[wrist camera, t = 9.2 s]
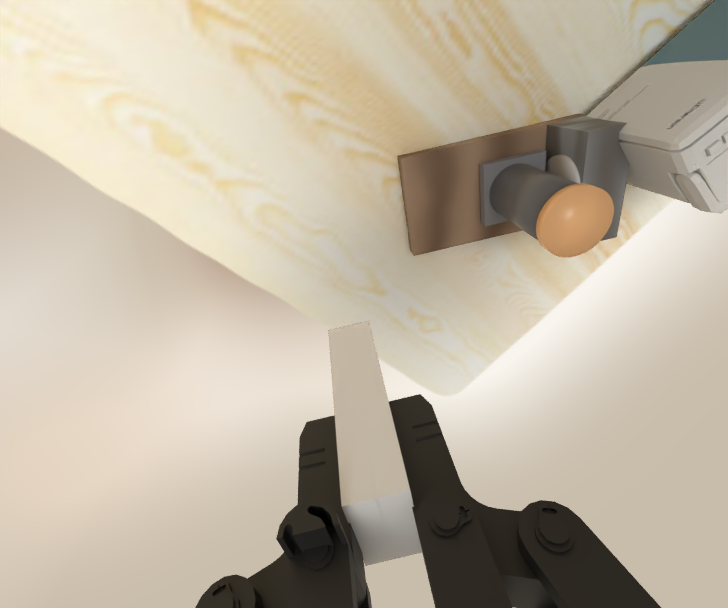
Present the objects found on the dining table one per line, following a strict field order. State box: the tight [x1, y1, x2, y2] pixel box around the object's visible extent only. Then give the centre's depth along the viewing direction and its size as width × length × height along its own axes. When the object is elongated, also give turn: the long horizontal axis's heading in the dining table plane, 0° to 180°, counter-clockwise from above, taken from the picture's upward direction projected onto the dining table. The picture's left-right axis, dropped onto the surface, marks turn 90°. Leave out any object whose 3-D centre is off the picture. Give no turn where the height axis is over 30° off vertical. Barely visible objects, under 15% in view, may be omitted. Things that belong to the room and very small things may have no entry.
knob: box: [480, 149, 614, 257], centre depth 32 cm, size 6×6×11 cm
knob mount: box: [398, 114, 630, 256], centre depth 35 cm, size 18×10×8 cm, turn 101°
